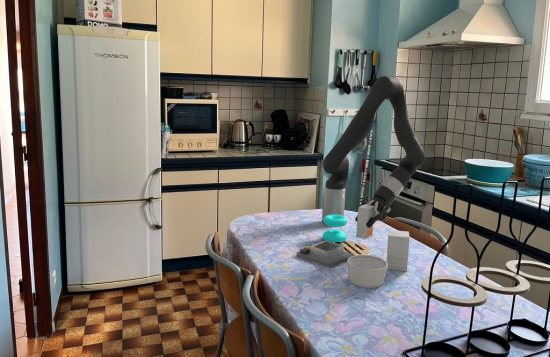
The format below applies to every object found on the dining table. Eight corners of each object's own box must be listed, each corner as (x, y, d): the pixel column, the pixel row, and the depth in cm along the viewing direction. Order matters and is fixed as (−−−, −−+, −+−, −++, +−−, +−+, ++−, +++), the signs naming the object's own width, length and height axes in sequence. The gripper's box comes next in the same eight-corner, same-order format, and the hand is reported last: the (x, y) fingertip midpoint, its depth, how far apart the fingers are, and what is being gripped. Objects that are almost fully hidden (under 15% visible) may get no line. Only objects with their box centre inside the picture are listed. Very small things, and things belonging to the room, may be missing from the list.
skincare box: (365, 239, 174) (368, 209, 172) (355, 237, 177) (357, 207, 174) (373, 235, 179) (375, 206, 176) (362, 233, 181) (365, 203, 179)
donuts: (319, 214, 196) (340, 212, 199) (318, 237, 198) (338, 235, 201) (330, 221, 187) (352, 219, 190) (329, 244, 189) (350, 242, 192)
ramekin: (386, 292, 147) (388, 271, 145) (344, 287, 149) (346, 267, 148) (385, 275, 159) (387, 256, 158) (346, 271, 162) (348, 252, 161)
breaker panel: (296, 255, 175) (296, 245, 175) (318, 247, 186) (319, 237, 185) (330, 267, 165) (331, 257, 164) (352, 257, 175) (353, 247, 174)
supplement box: (407, 264, 170) (409, 231, 167) (407, 271, 163) (409, 237, 160) (386, 261, 172) (388, 229, 169) (385, 269, 165) (388, 235, 162)
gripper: (371, 180, 183) (345, 212, 180) (397, 189, 171) (369, 223, 168) (381, 192, 187) (355, 224, 184) (406, 201, 174) (379, 235, 171)
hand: (362, 223), depth 176 cm, fingers closed on skincare box, 6 cm apart
